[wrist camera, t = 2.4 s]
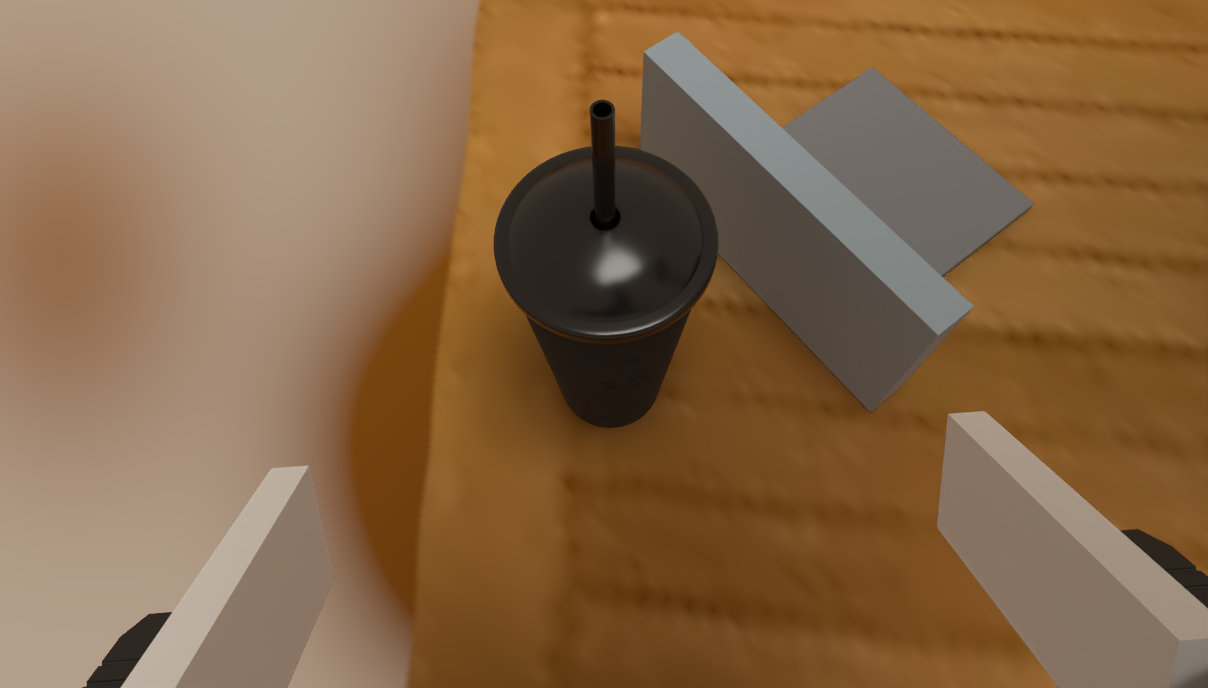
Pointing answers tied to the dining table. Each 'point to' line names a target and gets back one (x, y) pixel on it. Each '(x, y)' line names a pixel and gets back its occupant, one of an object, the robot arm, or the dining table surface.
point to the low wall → (797, 228)
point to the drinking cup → (606, 268)
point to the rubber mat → (909, 170)
